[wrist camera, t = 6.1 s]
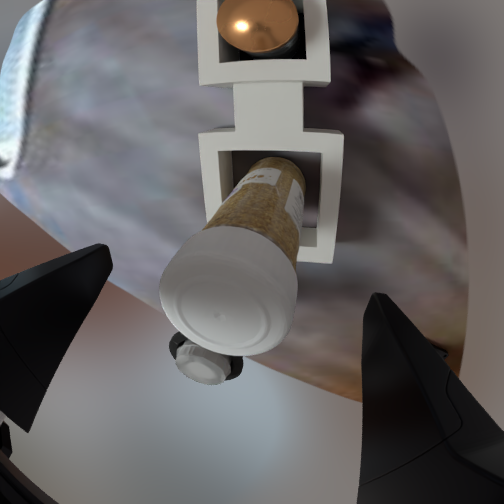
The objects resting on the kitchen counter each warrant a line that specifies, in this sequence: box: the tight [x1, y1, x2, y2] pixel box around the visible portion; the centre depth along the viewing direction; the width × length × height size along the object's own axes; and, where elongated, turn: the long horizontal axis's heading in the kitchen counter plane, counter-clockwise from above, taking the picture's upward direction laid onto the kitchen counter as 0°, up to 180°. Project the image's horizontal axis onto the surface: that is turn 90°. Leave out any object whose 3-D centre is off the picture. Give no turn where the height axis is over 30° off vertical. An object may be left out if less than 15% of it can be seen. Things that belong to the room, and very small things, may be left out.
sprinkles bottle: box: [159, 157, 306, 356], centre depth 14 cm, size 5×5×13 cm
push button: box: [169, 331, 243, 385], centre depth 21 cm, size 7×5×10 cm
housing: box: [197, 0, 344, 264], centre depth 15 cm, size 19×9×4 cm, turn 3°
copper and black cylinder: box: [216, 0, 300, 60], centre depth 11 cm, size 4×4×6 cm
